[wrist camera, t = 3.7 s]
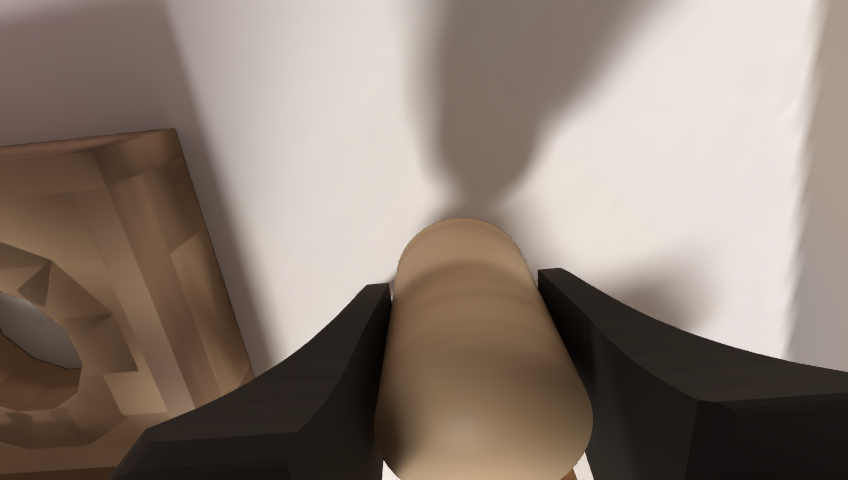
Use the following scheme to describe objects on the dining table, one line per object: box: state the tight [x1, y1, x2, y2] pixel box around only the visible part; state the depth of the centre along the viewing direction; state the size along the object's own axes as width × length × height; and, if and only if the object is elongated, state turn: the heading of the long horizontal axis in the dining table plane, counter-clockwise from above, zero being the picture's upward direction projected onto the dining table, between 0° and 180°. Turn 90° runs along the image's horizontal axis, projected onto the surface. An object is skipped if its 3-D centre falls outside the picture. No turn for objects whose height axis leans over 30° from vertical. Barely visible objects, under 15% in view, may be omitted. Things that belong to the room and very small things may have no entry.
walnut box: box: [0, 128, 255, 480], centre depth 16 cm, size 14×15×4 cm
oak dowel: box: [374, 218, 593, 480], centre depth 11 cm, size 4×4×6 cm
